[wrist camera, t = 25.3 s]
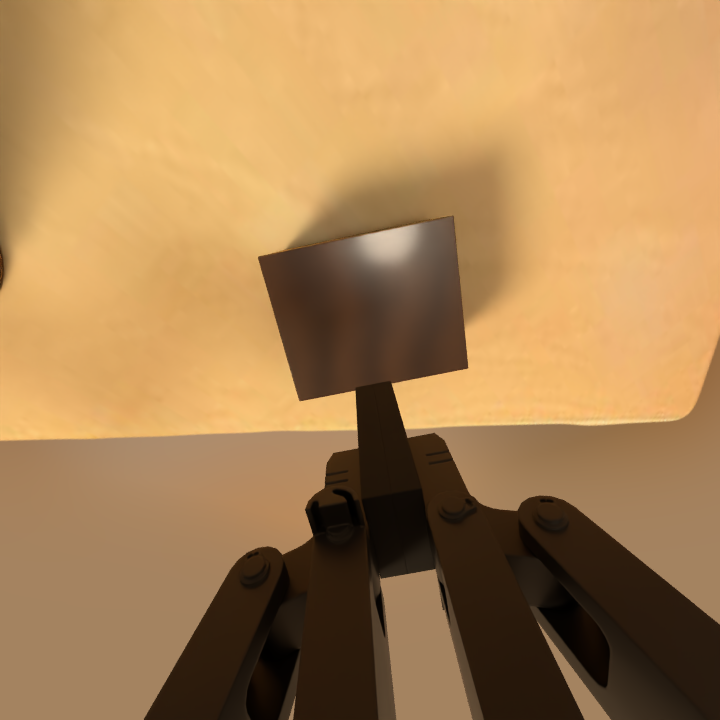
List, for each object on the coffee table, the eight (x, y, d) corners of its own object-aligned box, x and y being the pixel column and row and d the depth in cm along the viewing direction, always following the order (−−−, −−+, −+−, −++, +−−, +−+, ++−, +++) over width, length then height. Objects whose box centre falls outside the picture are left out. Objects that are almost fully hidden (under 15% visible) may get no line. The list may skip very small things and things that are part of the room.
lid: (300, 397, 35) (299, 401, 34) (259, 256, 30) (257, 256, 29) (465, 365, 34) (468, 368, 34) (450, 216, 30) (453, 215, 29)
